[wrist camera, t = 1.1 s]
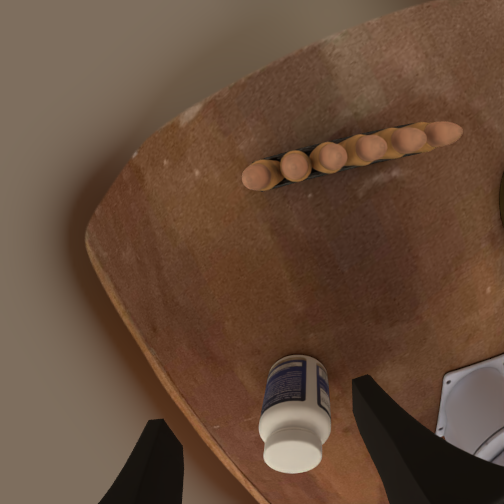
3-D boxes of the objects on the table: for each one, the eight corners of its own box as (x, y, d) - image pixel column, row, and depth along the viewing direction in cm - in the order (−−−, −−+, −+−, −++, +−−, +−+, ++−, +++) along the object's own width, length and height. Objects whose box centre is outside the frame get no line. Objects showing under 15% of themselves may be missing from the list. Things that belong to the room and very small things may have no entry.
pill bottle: (259, 387, 29) (241, 466, 19) (281, 344, 27) (269, 424, 18) (311, 405, 28) (309, 485, 19) (338, 364, 27) (347, 445, 18)
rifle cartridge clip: (265, 187, 24) (231, 209, 12) (258, 163, 23) (217, 163, 12) (402, 153, 22) (483, 149, 10) (396, 129, 21) (472, 105, 10)
